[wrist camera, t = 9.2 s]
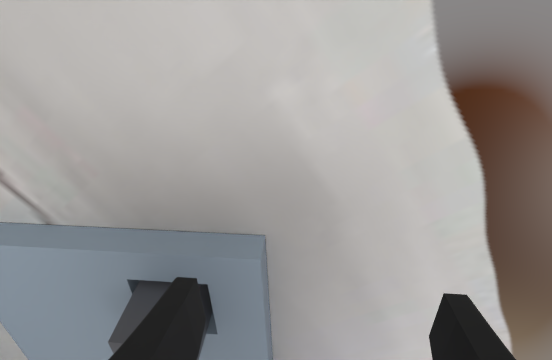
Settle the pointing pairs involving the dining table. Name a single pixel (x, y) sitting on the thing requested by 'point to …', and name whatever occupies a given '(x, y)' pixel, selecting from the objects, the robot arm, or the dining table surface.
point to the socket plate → (126, 287)
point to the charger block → (144, 302)
